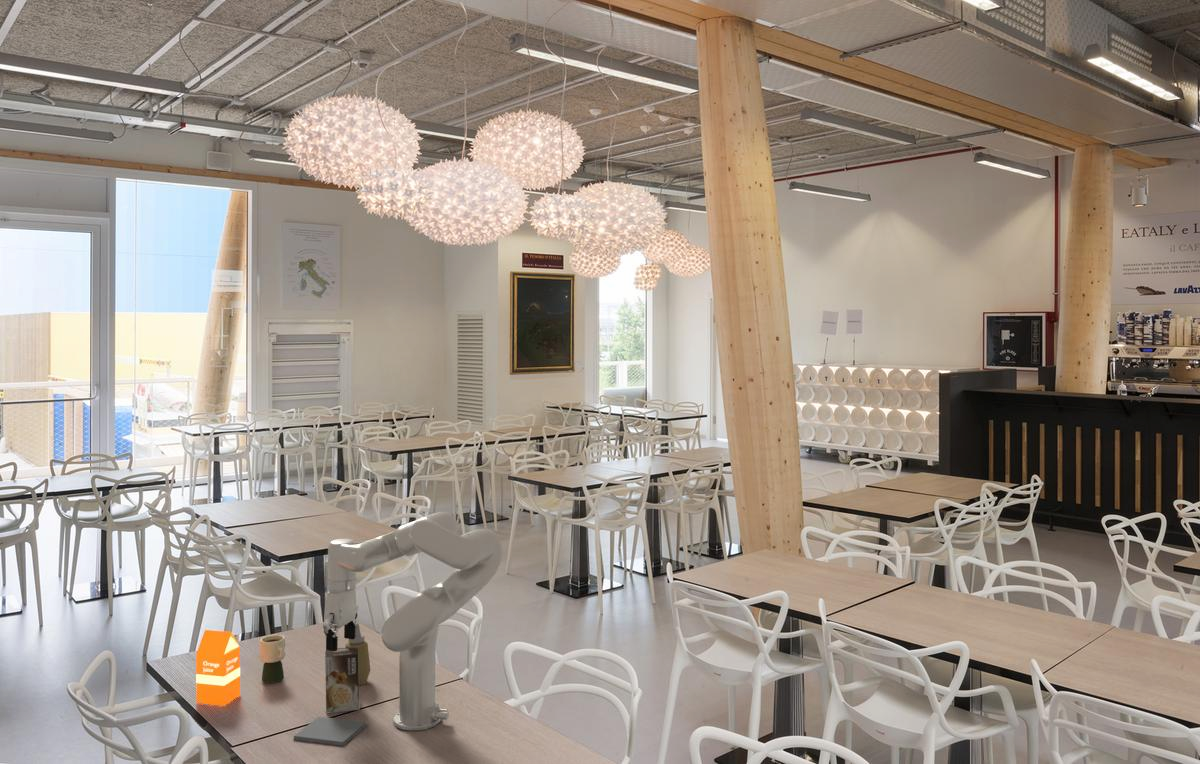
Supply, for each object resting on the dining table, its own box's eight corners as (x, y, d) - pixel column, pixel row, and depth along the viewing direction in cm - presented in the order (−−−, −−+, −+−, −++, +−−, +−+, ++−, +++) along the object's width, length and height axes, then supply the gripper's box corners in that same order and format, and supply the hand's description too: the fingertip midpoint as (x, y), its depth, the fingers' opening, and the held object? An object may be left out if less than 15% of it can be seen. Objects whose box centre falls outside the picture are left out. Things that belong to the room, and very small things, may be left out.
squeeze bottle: (353, 690, 257) (353, 630, 256) (337, 683, 261) (336, 624, 261) (376, 682, 263) (375, 623, 262) (359, 675, 268) (359, 617, 267)
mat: (366, 725, 233) (366, 722, 233) (343, 745, 221) (343, 742, 221) (319, 720, 236) (318, 716, 236) (293, 739, 225) (293, 735, 225)
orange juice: (224, 706, 244) (223, 636, 243) (196, 704, 246) (195, 634, 245) (240, 695, 252) (240, 627, 251) (213, 693, 254) (212, 625, 253)
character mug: (293, 681, 262) (293, 639, 262) (272, 689, 257) (271, 645, 256) (273, 673, 269) (273, 631, 269) (252, 680, 264) (251, 637, 263)
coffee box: (359, 701, 249) (359, 646, 248) (359, 710, 243) (359, 653, 242) (325, 704, 246) (325, 648, 246) (325, 714, 240) (324, 656, 240)
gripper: (345, 574, 252) (344, 632, 253) (312, 591, 235) (311, 653, 236) (369, 577, 251) (368, 635, 252) (337, 594, 234) (336, 656, 235)
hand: (340, 644), depth 244 cm, fingers open, 9 cm apart
